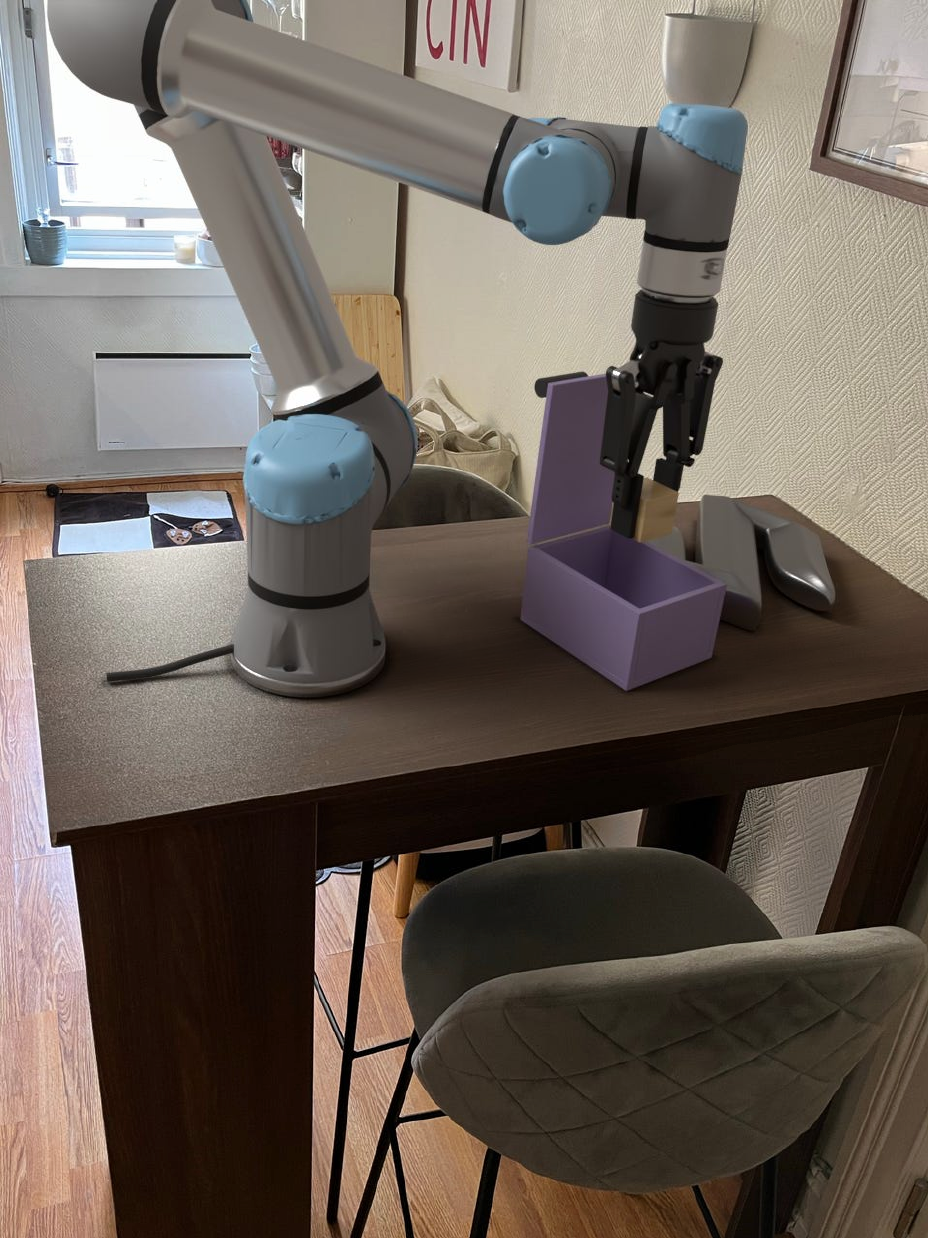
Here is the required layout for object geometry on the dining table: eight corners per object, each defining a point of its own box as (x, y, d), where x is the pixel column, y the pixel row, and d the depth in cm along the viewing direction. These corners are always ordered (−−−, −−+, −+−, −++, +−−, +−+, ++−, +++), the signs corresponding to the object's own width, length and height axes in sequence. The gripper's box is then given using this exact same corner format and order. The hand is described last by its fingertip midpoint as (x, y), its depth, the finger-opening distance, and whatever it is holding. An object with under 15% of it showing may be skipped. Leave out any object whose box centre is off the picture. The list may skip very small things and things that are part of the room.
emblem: (573, 496, 139) (758, 479, 149) (568, 535, 141) (750, 516, 151) (693, 600, 116) (901, 572, 126) (685, 644, 119) (889, 613, 129)
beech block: (608, 526, 112) (614, 484, 110) (640, 517, 114) (646, 477, 112) (640, 543, 109) (646, 501, 107) (672, 533, 111) (679, 492, 109)
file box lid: (644, 369, 114) (603, 351, 119) (553, 385, 107) (512, 365, 112) (617, 521, 123) (579, 499, 127) (530, 544, 116) (494, 520, 120)
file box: (711, 657, 117) (727, 584, 113) (626, 691, 110) (639, 613, 106) (603, 593, 128) (614, 523, 124) (520, 619, 121) (528, 547, 117)
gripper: (637, 311, 93) (602, 561, 104) (772, 293, 103) (727, 524, 114) (578, 291, 98) (550, 531, 109) (712, 276, 108) (674, 498, 119)
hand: (640, 527), depth 112 cm, fingers closed on beech block, 4 cm apart
